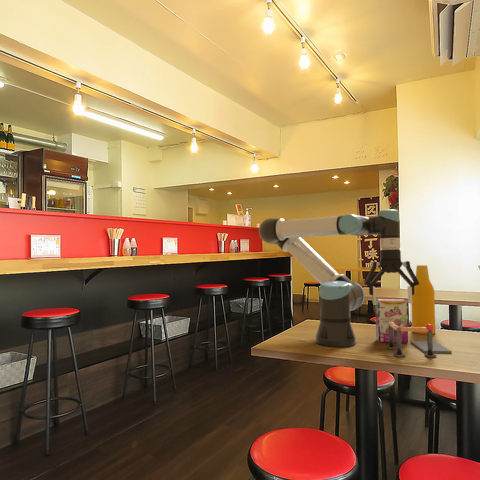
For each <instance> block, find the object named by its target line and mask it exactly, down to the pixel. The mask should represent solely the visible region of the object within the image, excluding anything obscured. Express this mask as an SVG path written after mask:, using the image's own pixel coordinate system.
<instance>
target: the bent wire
mask: <svg viewBox="0 0 480 480" xmlns="http://www.w3.org/2000/svg"><path fill="white" fill-rule="evenodd" d="M393 328H394V329H395V330H396V343H394V331H393ZM433 329H434V327H433V325H431V324H427V325H426V327H412V326H408V327H399V326H398V325H396V324H395V323H393V322H389V343H388V345H386V346H385V347H386V348H385V349H387V350H391V351H392V350H394V351H395V350H396V352H394V353H393V357H396V358H405V357H406V354H405V353H404V352H403V347H402V344H403V343H402V340H401V331H408V332H413V331H420V332H427V334H426V338H427V339H426V341H427V346H428V353H424V354H423V355H424V357H426V358H427V359H428V358H430V359H436V358H437V354H436V353H433V334H432V330H433ZM395 344H396V345H395Z"/></svg>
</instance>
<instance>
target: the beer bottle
mask: <svg viewBox="0 0 480 480" xmlns="http://www.w3.org/2000/svg"><path fill="white" fill-rule="evenodd" d="M415 276H416V278H417V280H418V281H419V285H416V286H415V287H414V295H412V304H411V327H426V325H427V324H431V325H433V327H434V329H433V330H432V335H434V334H435V333H436V328H437V327H436V311H435V310H436V308H435V306H436V305H435V304H436V302H435V288H434V286H433V284H432V282H431V280H430V276H429V268H428V265H425V264H424V265H423V264H422V265H421V264H417V265H416V270H415ZM412 332H413V333H415V334H418V335H427V332H420V331H412Z"/></svg>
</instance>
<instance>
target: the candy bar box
mask: <svg viewBox="0 0 480 480" xmlns="http://www.w3.org/2000/svg"><path fill="white" fill-rule="evenodd" d="M408 305H409V303H408V300H406V299H395V298H394V299H393V298H392V299H389V298H388V299H387V298H376V304H375V340H376V341H377V342H378V343H382V344H383V343H385V344H389V322H393V323H395V324H396V325H398V326H399V327H409V324H408V323H409V320H408V319H409V315H408V314H409V313H408V311H409V310H408V309H409V306H408ZM393 331H394V344H396V330H395V329H394V328H393ZM401 340H402V344H409V331H401Z"/></svg>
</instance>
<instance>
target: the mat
mask: <svg viewBox="0 0 480 480" xmlns="http://www.w3.org/2000/svg"><path fill="white" fill-rule="evenodd" d="M410 344H412V346H414V347H415V348H417V349H418V350H420V351H421V352H422V353H424V354H426V353H428V346H427V340H410ZM452 352H453V351H452V350H450V348H447V347H445V346H444V345H442V344H441V343H439V342H438V341H435V340H434V341H433V354H452Z"/></svg>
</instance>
